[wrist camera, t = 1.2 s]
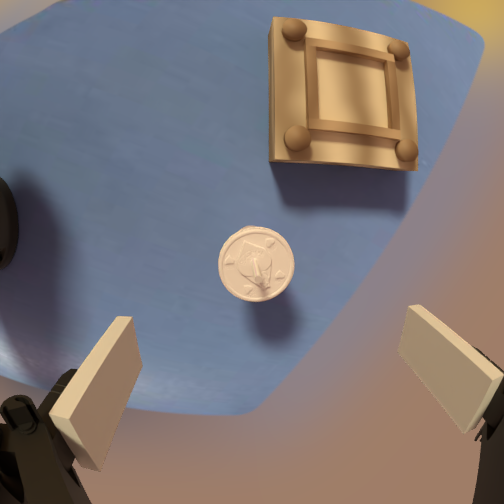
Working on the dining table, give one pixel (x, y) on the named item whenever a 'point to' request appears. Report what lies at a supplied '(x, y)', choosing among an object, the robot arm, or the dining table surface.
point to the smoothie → (256, 264)
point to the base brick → (340, 97)
